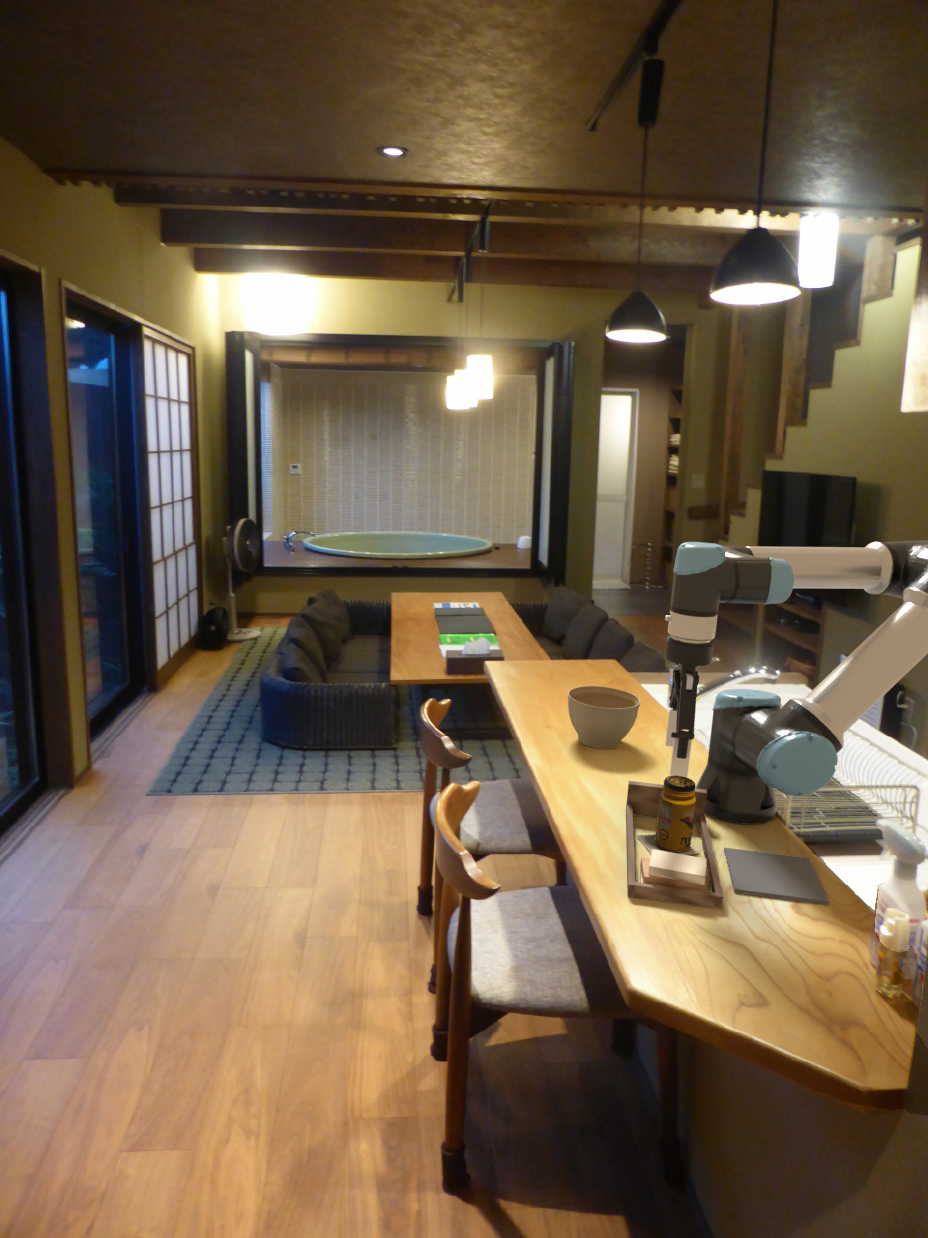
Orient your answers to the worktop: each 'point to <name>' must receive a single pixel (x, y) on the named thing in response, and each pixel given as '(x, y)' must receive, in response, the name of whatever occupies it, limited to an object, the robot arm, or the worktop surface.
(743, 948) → the worktop surface
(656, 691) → the worktop surface
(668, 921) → the worktop surface
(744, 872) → the slate mat
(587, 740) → the planter bowl
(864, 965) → the worktop surface
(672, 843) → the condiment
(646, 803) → the tray
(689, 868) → the offcut stack
